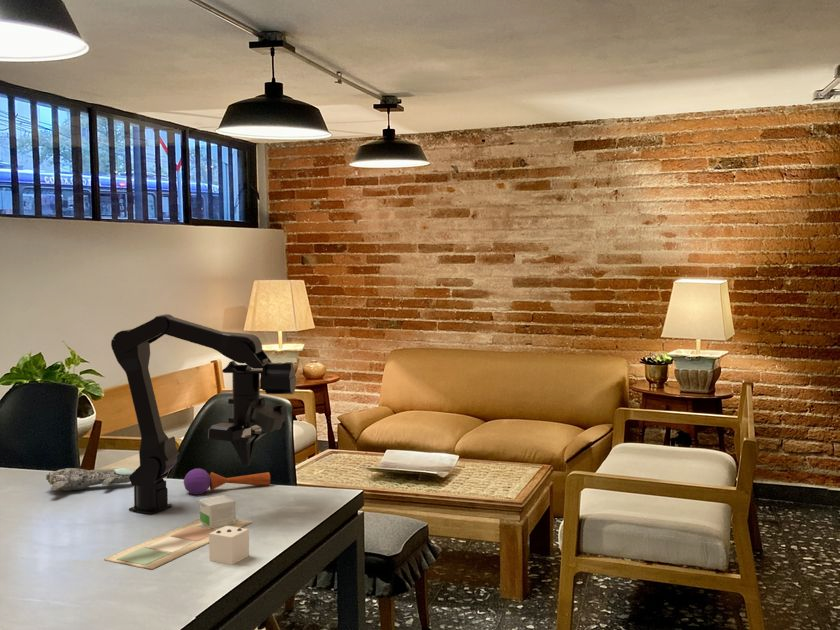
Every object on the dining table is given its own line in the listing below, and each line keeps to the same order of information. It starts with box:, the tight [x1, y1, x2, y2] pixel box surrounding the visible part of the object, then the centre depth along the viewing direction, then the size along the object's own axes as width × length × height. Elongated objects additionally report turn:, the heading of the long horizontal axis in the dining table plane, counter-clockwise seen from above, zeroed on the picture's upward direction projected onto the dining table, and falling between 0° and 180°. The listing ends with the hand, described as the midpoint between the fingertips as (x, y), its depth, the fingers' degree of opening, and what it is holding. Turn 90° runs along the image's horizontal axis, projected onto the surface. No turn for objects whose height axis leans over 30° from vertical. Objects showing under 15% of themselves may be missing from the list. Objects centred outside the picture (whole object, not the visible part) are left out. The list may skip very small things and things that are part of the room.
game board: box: [103, 518, 252, 571], centre depth 158 cm, size 11×29×1 cm, turn 156°
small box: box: [199, 494, 237, 529], centre depth 168 cm, size 6×6×5 cm
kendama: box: [183, 468, 271, 495], centre depth 194 cm, size 6×6×20 cm
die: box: [208, 526, 250, 565], centre depth 149 cm, size 5×5×5 cm
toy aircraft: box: [45, 467, 135, 492], centre depth 194 cm, size 16×20×5 cm
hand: (246, 465), depth 176 cm, fingers closed
